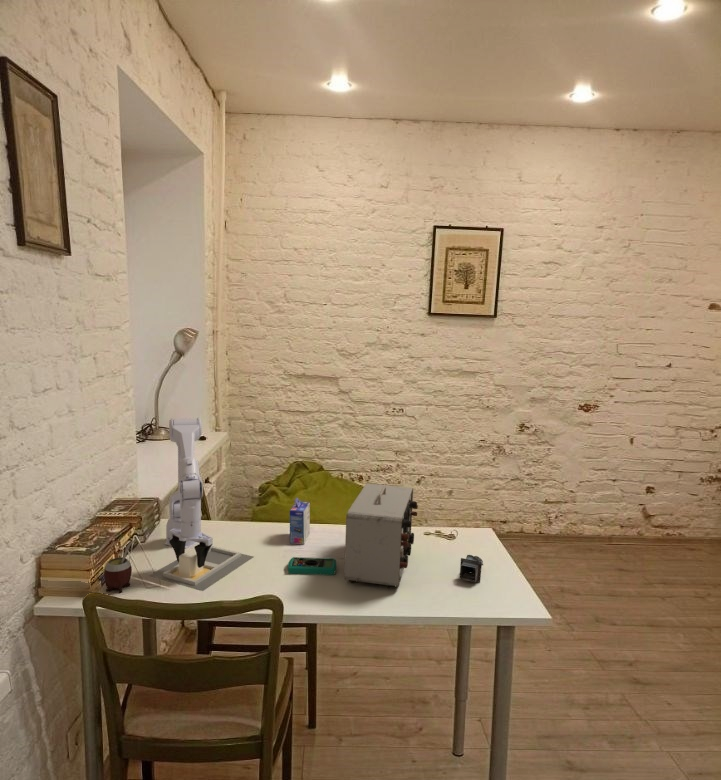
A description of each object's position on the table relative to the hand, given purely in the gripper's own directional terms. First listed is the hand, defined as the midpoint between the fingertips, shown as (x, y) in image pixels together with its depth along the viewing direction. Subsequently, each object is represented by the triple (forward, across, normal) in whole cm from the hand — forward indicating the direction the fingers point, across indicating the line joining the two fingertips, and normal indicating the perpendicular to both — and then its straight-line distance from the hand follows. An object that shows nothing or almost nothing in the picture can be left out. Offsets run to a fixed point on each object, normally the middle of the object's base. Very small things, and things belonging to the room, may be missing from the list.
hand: (190, 563), depth 159 cm
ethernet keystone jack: (+4, +76, +39) cm, 86 cm away
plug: (+3, 0, 0) cm, 3 cm away
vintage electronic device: (+4, +49, +33) cm, 59 cm away
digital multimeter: (+4, +30, +20) cm, 37 cm away
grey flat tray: (+4, 0, +6) cm, 7 cm away
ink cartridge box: (+4, +15, +39) cm, 42 cm away
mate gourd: (+4, -12, -15) cm, 20 cm away
